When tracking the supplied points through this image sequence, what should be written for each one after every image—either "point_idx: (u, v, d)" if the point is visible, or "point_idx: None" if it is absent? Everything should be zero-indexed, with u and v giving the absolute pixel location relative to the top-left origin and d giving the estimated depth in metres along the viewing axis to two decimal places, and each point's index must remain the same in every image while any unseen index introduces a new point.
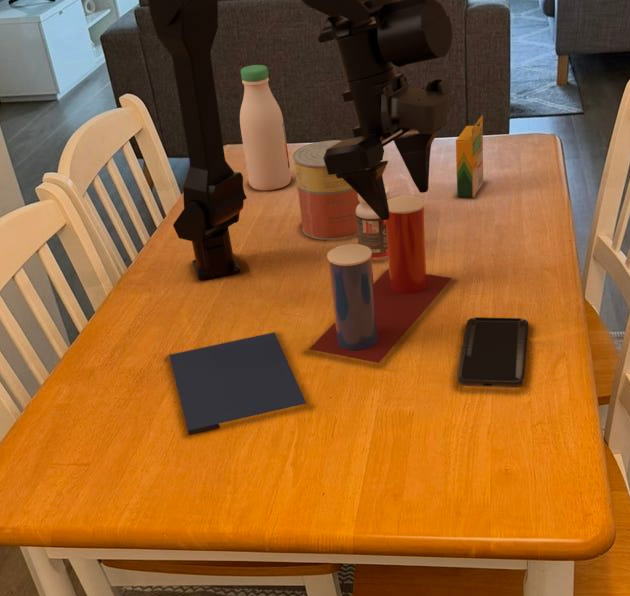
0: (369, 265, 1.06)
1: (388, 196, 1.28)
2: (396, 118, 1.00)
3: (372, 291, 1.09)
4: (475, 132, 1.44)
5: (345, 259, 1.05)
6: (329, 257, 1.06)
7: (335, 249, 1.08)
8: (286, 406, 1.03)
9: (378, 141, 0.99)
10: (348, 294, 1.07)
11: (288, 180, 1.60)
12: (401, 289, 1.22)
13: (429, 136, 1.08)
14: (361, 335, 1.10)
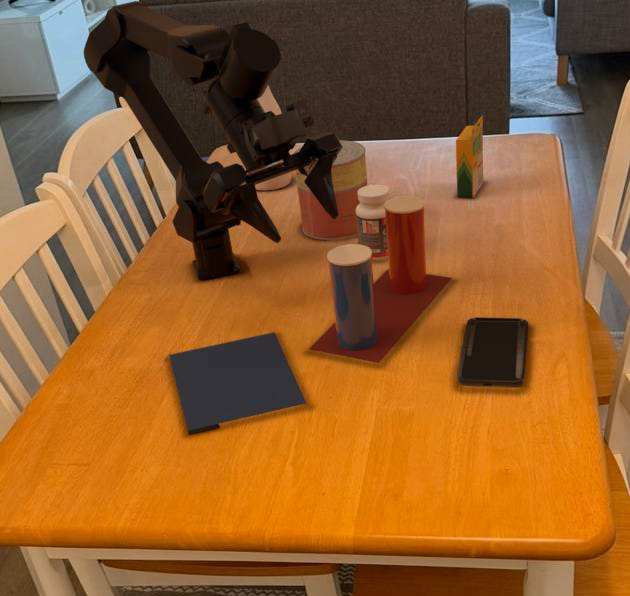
0: (369, 265, 1.06)
1: (388, 196, 1.28)
2: (255, 143, 1.06)
3: (372, 291, 1.09)
4: (475, 132, 1.44)
5: (345, 259, 1.05)
6: (329, 257, 1.06)
7: (335, 249, 1.08)
8: (286, 406, 1.03)
9: (238, 166, 1.06)
10: (348, 294, 1.07)
11: (288, 180, 1.60)
12: (401, 289, 1.22)
13: (320, 162, 1.11)
14: (361, 335, 1.10)
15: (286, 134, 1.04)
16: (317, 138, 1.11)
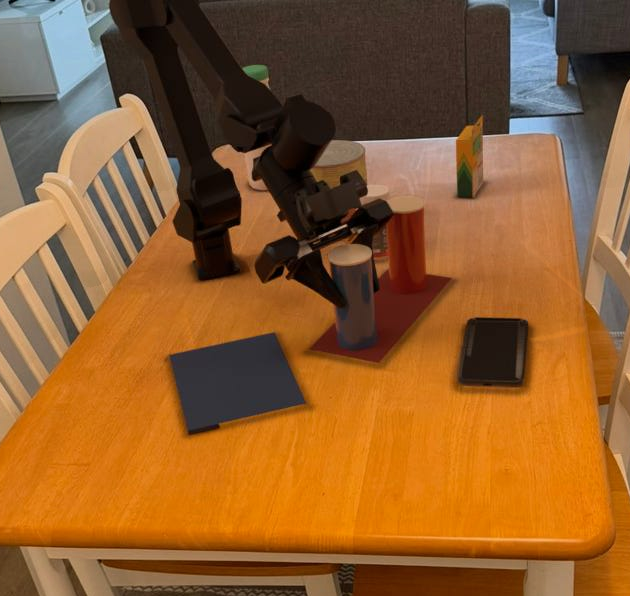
0: (369, 265, 1.06)
1: (388, 196, 1.28)
2: (309, 215, 1.04)
3: (372, 291, 1.09)
4: (475, 132, 1.44)
5: (345, 259, 1.05)
6: (329, 257, 1.06)
7: (335, 249, 1.08)
8: (286, 406, 1.03)
9: (292, 238, 1.04)
10: (348, 294, 1.07)
11: None
12: (401, 289, 1.22)
13: (361, 235, 1.08)
14: (361, 335, 1.10)
15: (341, 207, 1.02)
16: (369, 206, 1.09)
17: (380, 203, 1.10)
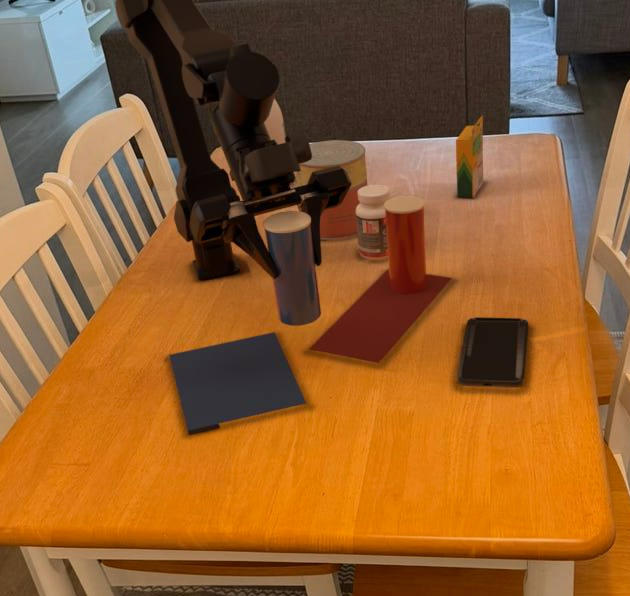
0: (304, 235, 0.99)
1: (388, 196, 1.28)
2: (246, 175, 0.98)
3: (310, 264, 1.01)
4: (475, 132, 1.44)
5: (278, 226, 0.98)
6: (264, 222, 0.99)
7: (276, 214, 1.01)
8: (286, 406, 1.03)
9: (223, 198, 0.98)
10: (280, 264, 1.00)
11: None
12: (401, 289, 1.22)
13: (306, 203, 1.01)
14: (296, 310, 1.03)
15: (273, 169, 0.95)
16: (322, 173, 1.02)
17: (335, 170, 1.02)
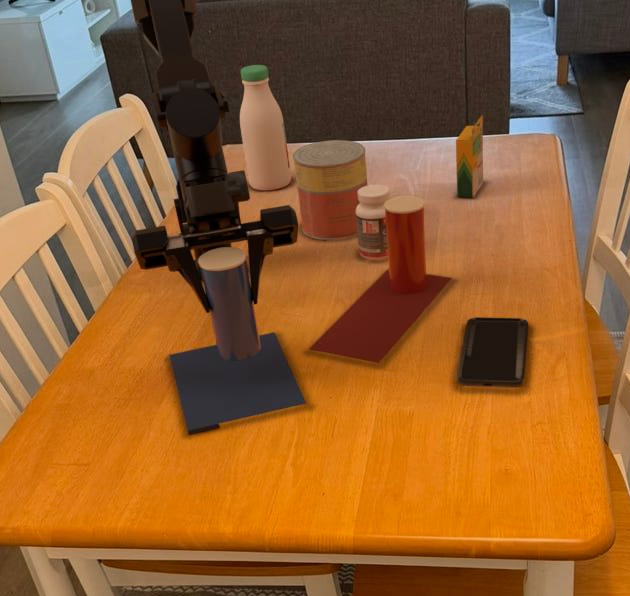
0: (235, 274, 0.98)
1: (388, 196, 1.28)
2: (186, 209, 0.98)
3: (242, 302, 1.01)
4: (475, 132, 1.44)
5: (210, 262, 0.98)
6: (201, 257, 1.00)
7: (216, 249, 1.01)
8: (286, 406, 1.03)
9: (162, 229, 0.99)
10: (212, 300, 1.00)
11: (288, 180, 1.60)
12: (401, 289, 1.22)
13: (247, 241, 1.00)
14: (229, 345, 1.03)
15: (203, 207, 0.95)
16: (268, 212, 1.01)
17: (282, 210, 1.01)
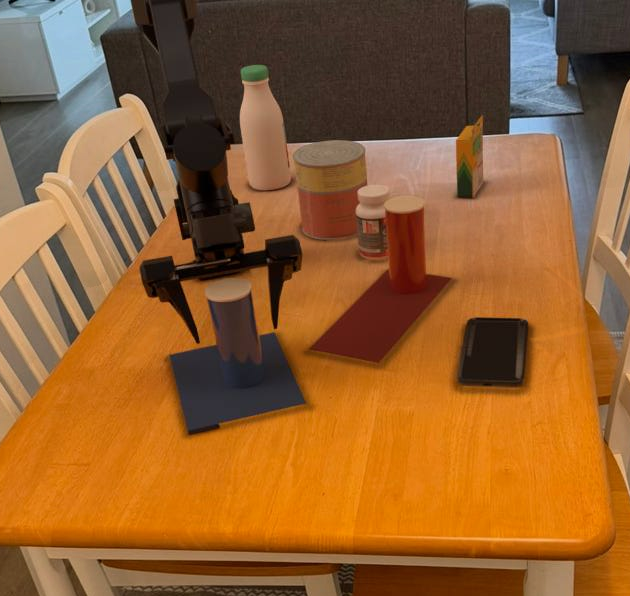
0: (241, 305, 1.00)
1: (388, 196, 1.28)
2: (193, 239, 1.01)
3: (248, 332, 1.03)
4: (475, 132, 1.44)
5: (216, 294, 1.01)
6: (207, 288, 1.02)
7: (222, 280, 1.03)
8: (286, 406, 1.03)
9: (169, 259, 1.01)
10: (218, 329, 1.02)
11: (288, 180, 1.60)
12: (401, 289, 1.22)
13: (268, 267, 1.03)
14: (234, 373, 1.06)
15: (210, 239, 0.97)
16: (273, 242, 1.03)
17: (287, 240, 1.03)
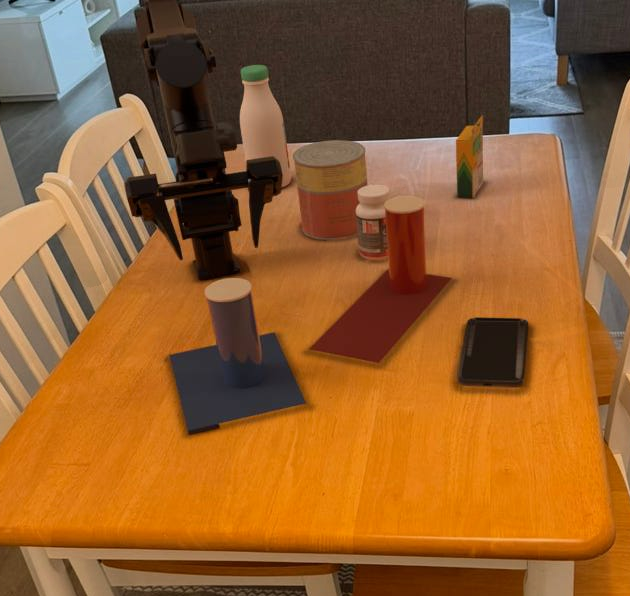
0: (241, 305, 1.00)
1: (388, 196, 1.28)
2: (176, 157, 1.04)
3: (248, 332, 1.03)
4: (475, 132, 1.44)
5: (216, 294, 1.01)
6: (207, 288, 1.02)
7: (222, 280, 1.03)
8: (286, 406, 1.03)
9: (153, 176, 1.04)
10: (218, 329, 1.02)
11: (288, 180, 1.60)
12: (401, 289, 1.22)
13: (249, 186, 1.06)
14: (234, 373, 1.06)
15: (193, 154, 1.00)
16: (254, 162, 1.06)
17: (267, 161, 1.06)
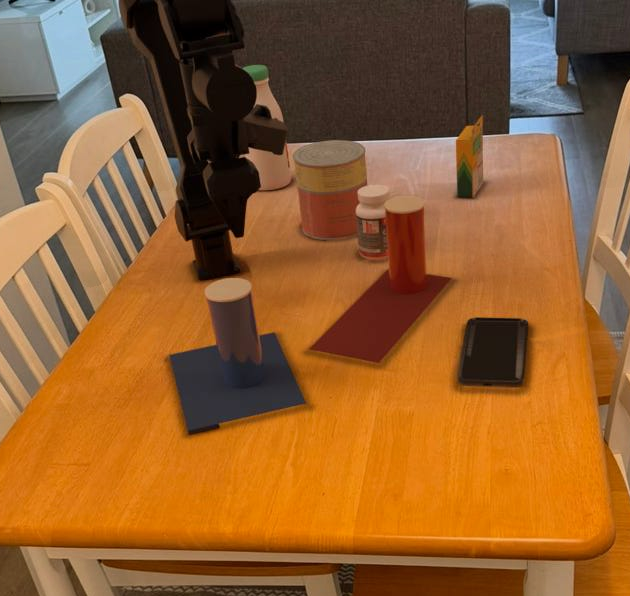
0: (241, 305, 1.00)
1: (388, 196, 1.28)
2: (253, 141, 1.07)
3: (248, 332, 1.03)
4: (475, 132, 1.44)
5: (216, 294, 1.01)
6: (207, 288, 1.02)
7: (222, 280, 1.03)
8: (286, 406, 1.03)
9: (252, 162, 1.05)
10: (218, 329, 1.02)
11: (288, 180, 1.60)
12: (401, 289, 1.22)
13: (236, 158, 1.15)
14: (234, 373, 1.06)
15: None
16: None
17: None
